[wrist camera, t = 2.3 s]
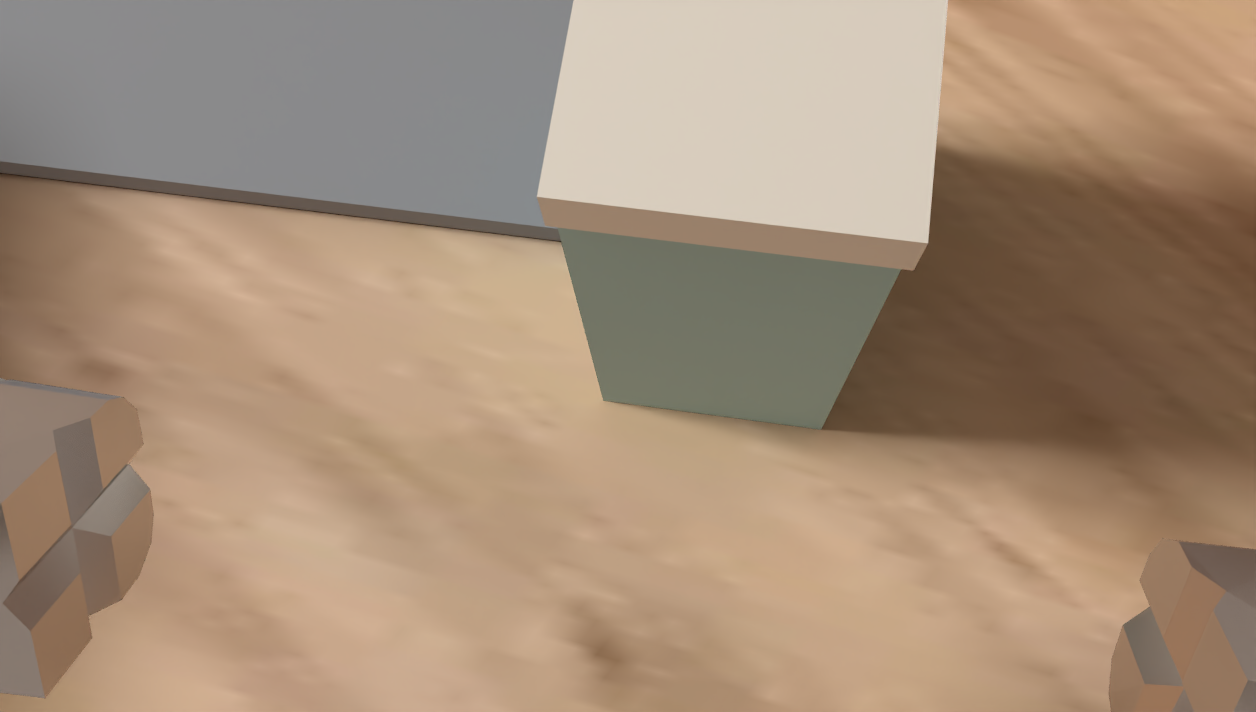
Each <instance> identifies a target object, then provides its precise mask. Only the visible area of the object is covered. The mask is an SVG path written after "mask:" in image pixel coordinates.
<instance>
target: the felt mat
mask: <svg viewBox="0 0 1256 712" xmlns="http://www.w3.org/2000/svg"><path fill="white" fill-rule="evenodd" d="M573 1H574V0H0V173H7V174H15V175H24V176H32V177H40V178H48V179H56V180H65V181H73V182H81V183H89V184H97V185H105V186H114V187H122V188H130V189H138V190H146V191H155V192H163V193H171V194H179V195H187V196H196V197H204V198H212V199H220V200H228V201H236V202H245V203H253V204H261V205H269V206H277V207H286V208H294V209H302V210H310V211H318V212H327V213H335V214H343V215H351V216H359V217H367V218H376V219H384V220H392V221H400V222H408V223H417V224H425V225H433V226H441V227H449V228H458V229H466V230H474V231H482V232H490V233H498V234H507V235H515V236H523V237H531V238H539V239H548V240H556V241H561V239H560V235H559V231H558V228H557V227H549V226H545V223H544V220H543V217H542V213H541V210H540V206H539V203H538V199H537V193H538V187H539V182H540V177H541V171H542V166H543V161H544V155H545V150H546V145H547V139H548V134H549V129H550V123H551V118H552V113H553V107H554V102H555V97H556V91H557V86H558V81H559V75H560V70H561V65H562V59H563V54H564V49H565V43H566V38H567V33H568V27H569V22H570V17H571V11H572V6H573Z"/></svg>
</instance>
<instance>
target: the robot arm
mask: <svg viewBox="0 0 1256 712" xmlns="http://www.w3.org/2000/svg"><path fill="white" fill-rule="evenodd" d="M143 444H144V443H143V438H142V433H141V427H140V422H139V417H138V412H137V409H136V408H135V407H134V406H133V405H132V404H131V403H130V402H128V401H127V400H126V399H125V398H124V397H119V396H113V395H107V394H100V393H94V392H87V391H81V390H75V389H68V388H62V387H55V386H49V385H42V384H36V383H30V382H23V381H17V380H4V379H2V378H0V693H7V694H15V695H23V696H31V697H39V698H46V696H47V695H48V694H49V693H50V691H51V690H52V689H53V687H54V686H55V685H56V684H57V682H58V681H59V680H60V678H61V677H62V676H63V675H64V673H65V672H66V671H67V669H68V668H69V667H70V666H71V664H72V663H73V662H74V661H75V659H76V658H77V657H78V655H79V654H80V653H81V652H82V650H83V649H84V648H85V646H86V645H87V644H88V643H89V641H90V640H91V639H92V634H91V629H90V623H89V618H88V616H89V615H91V614H93V613H96V612H98V611H100V610H102V609H104V608H106V607H108V606H110V605H112V604H114V603H116V602H118V601H120V600H122V598H123V597H124V596H125V594H126V593H127V592H128V590H129V589H130V588H131V586H132V585H133V583H134V582H135V581H136V579H137V578H138V577H139V575H140V572H141V570H142V567H143V564H144V561H145V559H146V556H147V553H148V550H149V548H150V545H151V541H152V529H153V516H154V513H153V506H152V498H151V490H150V488H149V487H148V486H147V485H146V484H145V482H144V481H143V480H142V479H141V478H140V477H139V475H138V474H137V473H136V472H135V471H134V469H133V468H132V467H131V466H130V465H129V463H130V462H131V461H132V459H133V458H134V457H135V455H136V454H137V452H138V451H139V450H140V448H141V447H142V446H143ZM1140 583H1141V585H1142V588H1143V590H1144V593H1145V595H1146V598H1147V600H1148V602H1149V605H1150V607H1149V608H1147V609H1146V610H1144V611H1143V612H1141V613H1140V614H1138V615H1137V616H1135V617H1134V618H1132V619H1131V620H1130V621H1128V622H1127V623H1125V624H1124V625H1123V626H1122V629H1121V632H1120V635H1119V638H1118V641H1117V644H1116V647H1115V650H1114V653H1113V656H1112V661H1111V673H1110V685H1109V699H1110V707H1111V712H1256V549H1249V548H1240V547H1232V546H1223V545H1215V544H1206V543H1198V542H1189V541H1181V540H1172V539H1164V538H1162V539H1161V540H1160V542H1159V543H1158V544H1157V545H1156V547H1155V548H1154V549H1153V551H1152V552H1151V553H1150V555H1149V557H1148V560H1147V562H1146V565H1145V568H1144V570H1143V573H1142V575H1141V578H1140Z"/></svg>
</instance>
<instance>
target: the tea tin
mask: <svg viewBox="0 0 1256 712" xmlns="http://www.w3.org/2000/svg"><path fill="white" fill-rule="evenodd" d="M947 6H948V0H574V1H573V6H572V11H571V17H570V22H569V27H568V33H567V38H566V43H565V49H564V54H563V59H562V65H561V70H560V75H559V81H558V86H557V91H556V97H555V102H554V107H553V113H552V118H551V123H550V129H549V134H548V139H547V145H546V150H545V155H544V161H543V166H542V171H541V177H540V182H539V187H538V193H537V199H538V203H539V206H540V210H541V213H542V217H543V220H544V223H545V226H549V227H557V228H558V231H559V235H560V239H561V243H562V247H563V250H564V254H565V258H566V262H567V265H568V269H569V273H570V277H571V280H572V284H573V288H574V292H575V296H576V299H577V303H578V307H579V311H580V314H581V318H582V322H583V326H584V329H585V333H586V337H587V341H588V345H589V348H590V352H591V356H592V360H593V363H594V367H595V371H596V375H597V378H598V382H599V386H600V390H601V394H602V397H603V401H611V402H618V403H626V404H633V405H641V406H648V407H656V408H663V409H671V410H678V411H685V412H693V413H700V414H708V415H715V416H723V417H730V418H738V419H745V420H753V421H760V422H767V423H775V424H782V425H790V426H797V427H805V428H812V429H820V430H821V429H822V427H823V425H824V423H825V421H826V419H827V417H828V415H829V413H830V411H831V409H832V407H833V405H834V403H835V401H836V399H837V397H838V395H839V393H840V391H841V389H842V387H843V385H844V383H845V381H846V379H847V377H848V375H849V373H850V371H851V369H852V367H853V365H854V363H855V361H856V359H857V357H858V355H859V353H860V351H861V349H862V347H863V345H864V343H865V341H866V339H867V337H868V335H869V333H870V331H871V329H872V327H873V325H874V323H875V321H876V319H877V317H878V315H879V313H880V311H881V309H882V307H883V305H884V303H885V301H886V299H887V297H888V295H889V293H890V291H891V289H892V287H893V285H894V283H895V281H896V279H897V277H898V275H899V273H900V271H901V269H904V270H912V271H914V269H915V267H916V265H917V263H918V261H919V260H920V258H921V256H922V254H923V252H924V250H925V248H926V246H927V244H928V238H929V226H930V214H931V201H932V189H933V177H934V165H935V153H936V140H937V128H938V116H939V104H940V92H941V79H942V67H943V55H944V43H945V31H946V19H947Z"/></svg>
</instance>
